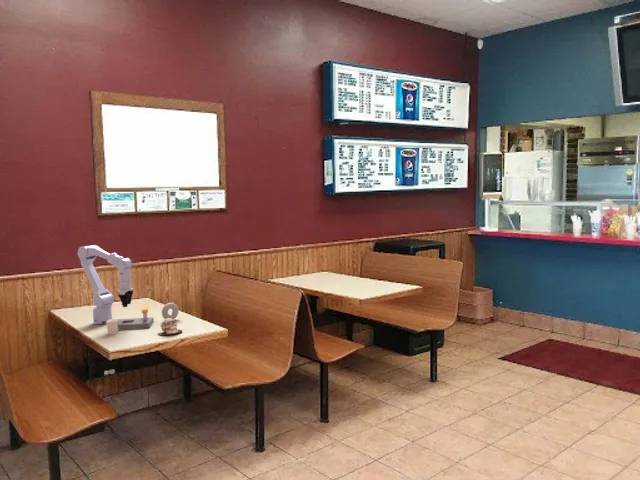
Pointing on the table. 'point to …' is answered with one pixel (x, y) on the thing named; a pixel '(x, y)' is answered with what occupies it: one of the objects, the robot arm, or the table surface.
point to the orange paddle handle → (145, 308)
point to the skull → (169, 327)
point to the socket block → (135, 323)
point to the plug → (112, 326)
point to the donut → (174, 311)
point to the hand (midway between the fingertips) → (126, 305)
